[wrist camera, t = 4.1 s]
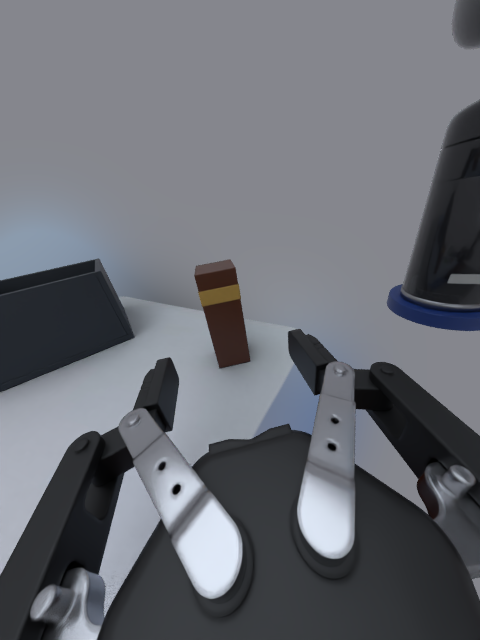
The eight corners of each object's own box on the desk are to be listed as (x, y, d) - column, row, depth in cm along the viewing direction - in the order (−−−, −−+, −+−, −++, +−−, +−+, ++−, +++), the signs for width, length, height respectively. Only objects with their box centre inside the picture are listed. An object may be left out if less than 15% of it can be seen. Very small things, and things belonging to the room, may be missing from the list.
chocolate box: (244, 342, 28) (230, 259, 22) (250, 361, 25) (236, 267, 19) (217, 349, 28) (195, 265, 22) (219, 368, 24) (193, 275, 18)
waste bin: (123, 307, 48) (99, 258, 42) (134, 337, 34) (100, 270, 28) (27, 339, 40) (-20, 284, 34) (-10, 395, 26) (-99, 320, 20)
